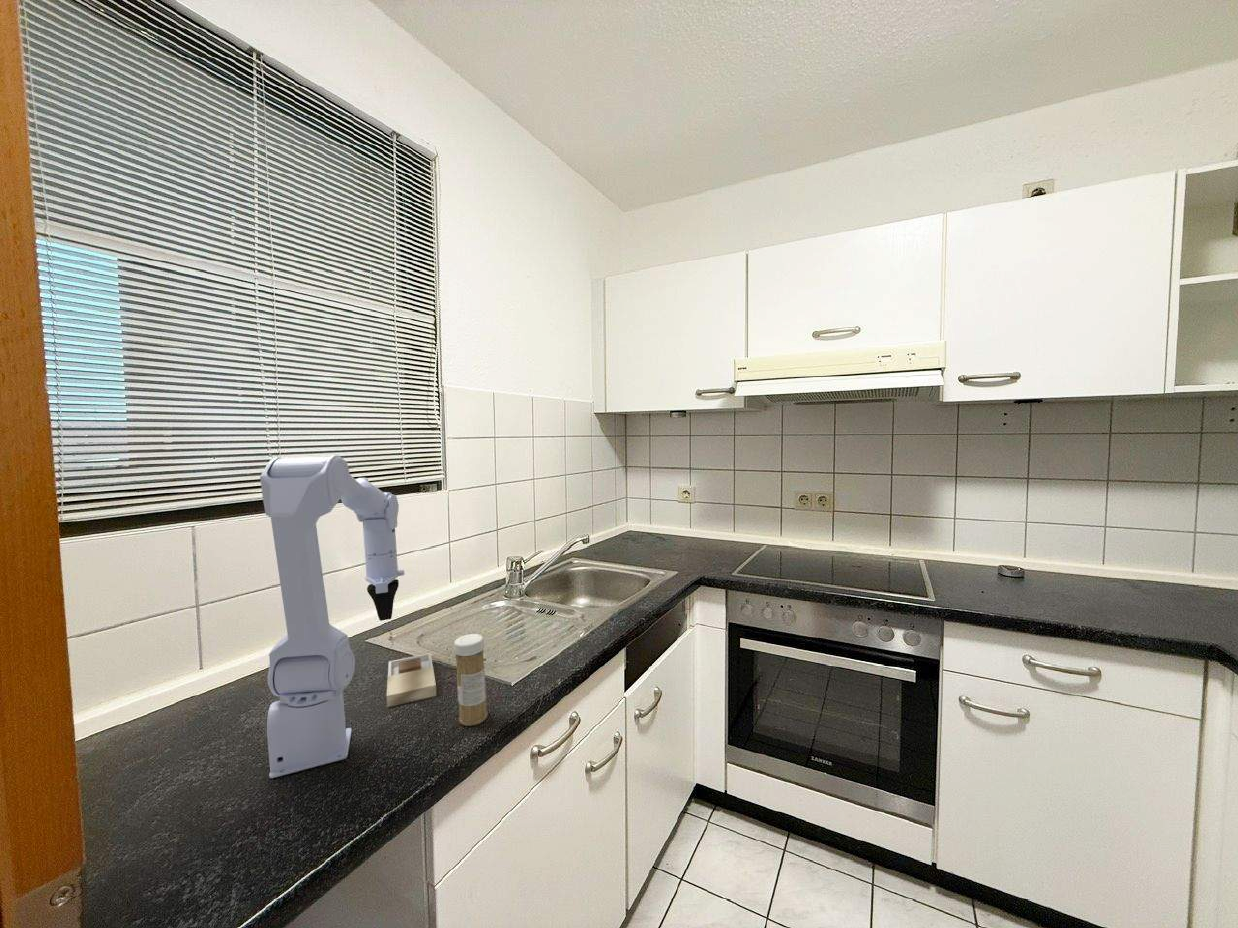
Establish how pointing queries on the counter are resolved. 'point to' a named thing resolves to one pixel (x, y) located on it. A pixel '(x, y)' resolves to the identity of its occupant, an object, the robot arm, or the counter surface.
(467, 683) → the sprinkles bottle
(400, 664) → the walnut block
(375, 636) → the counter surface
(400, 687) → the birch board
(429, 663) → the box
